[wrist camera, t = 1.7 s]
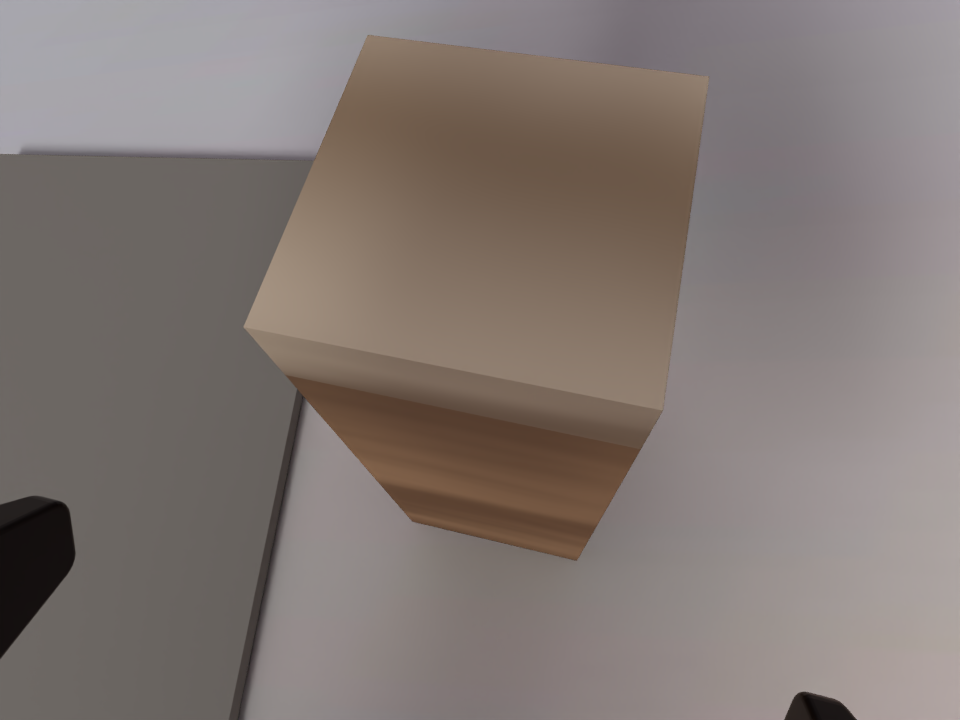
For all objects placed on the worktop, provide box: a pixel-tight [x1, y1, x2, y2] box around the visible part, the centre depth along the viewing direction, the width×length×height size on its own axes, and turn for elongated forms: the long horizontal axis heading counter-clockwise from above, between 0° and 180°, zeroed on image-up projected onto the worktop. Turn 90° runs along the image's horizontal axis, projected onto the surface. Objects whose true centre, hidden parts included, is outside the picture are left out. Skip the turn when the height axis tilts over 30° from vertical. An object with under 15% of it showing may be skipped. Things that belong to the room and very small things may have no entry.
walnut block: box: [244, 35, 709, 561], centre depth 14 cm, size 5×5×13 cm
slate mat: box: [0, 154, 314, 720], centre depth 21 cm, size 24×14×1 cm, turn 175°
